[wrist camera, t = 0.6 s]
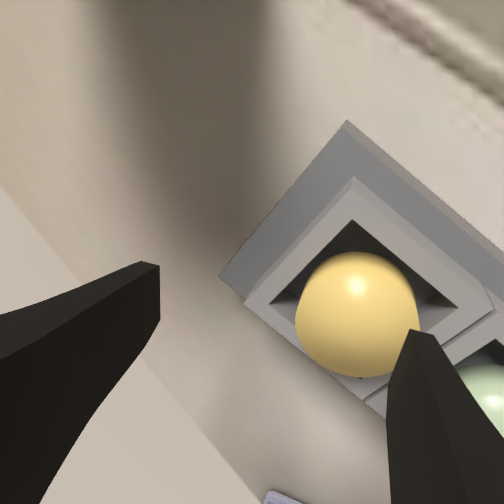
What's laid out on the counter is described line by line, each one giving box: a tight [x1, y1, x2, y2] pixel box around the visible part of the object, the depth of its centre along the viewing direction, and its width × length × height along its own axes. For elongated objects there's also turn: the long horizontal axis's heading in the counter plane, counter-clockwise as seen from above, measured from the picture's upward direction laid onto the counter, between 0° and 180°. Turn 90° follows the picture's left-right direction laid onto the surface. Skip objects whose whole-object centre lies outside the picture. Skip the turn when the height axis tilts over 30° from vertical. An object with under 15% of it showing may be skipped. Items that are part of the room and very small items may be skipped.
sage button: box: [456, 364, 504, 438], centre depth 16 cm, size 4×4×2 cm
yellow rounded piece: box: [295, 252, 420, 377], centre depth 15 cm, size 4×4×2 cm
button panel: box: [218, 120, 504, 420], centre depth 18 cm, size 24×9×5 cm, turn 52°
